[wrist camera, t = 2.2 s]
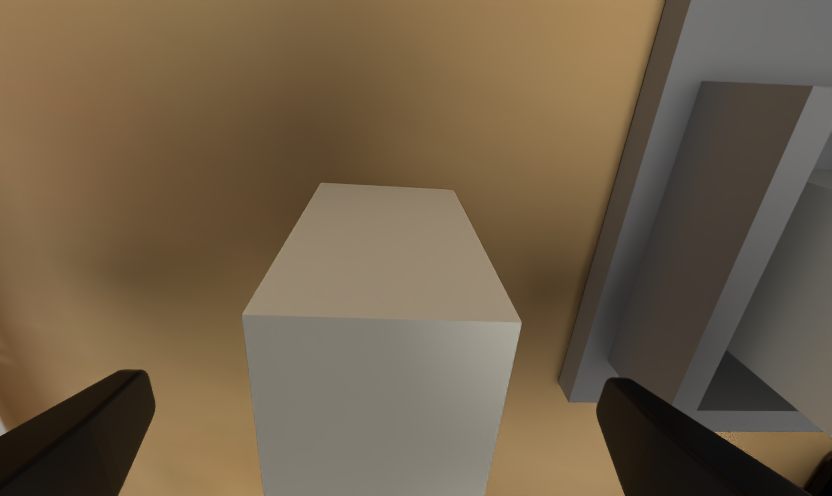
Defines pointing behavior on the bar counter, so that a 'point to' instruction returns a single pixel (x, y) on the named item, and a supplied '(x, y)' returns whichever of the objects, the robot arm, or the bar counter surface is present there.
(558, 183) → the bar counter surface
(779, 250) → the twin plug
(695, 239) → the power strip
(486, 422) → the plug
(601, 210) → the bar counter surface
